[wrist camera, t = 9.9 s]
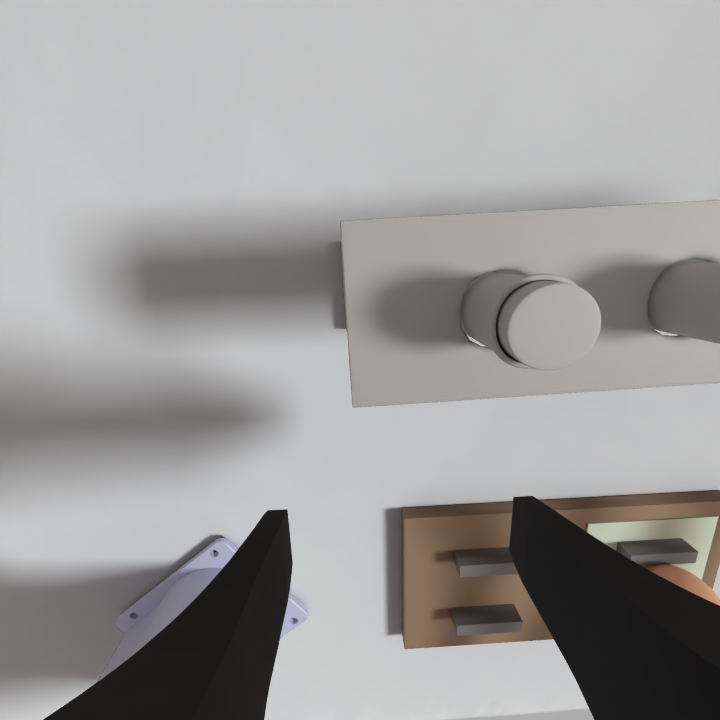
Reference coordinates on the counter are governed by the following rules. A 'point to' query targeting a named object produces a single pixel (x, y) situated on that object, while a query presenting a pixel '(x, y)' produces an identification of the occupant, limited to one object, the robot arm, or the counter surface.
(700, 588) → the terracotta ball
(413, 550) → the cradle board
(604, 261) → the test tube rack
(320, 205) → the counter surface
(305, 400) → the counter surface
